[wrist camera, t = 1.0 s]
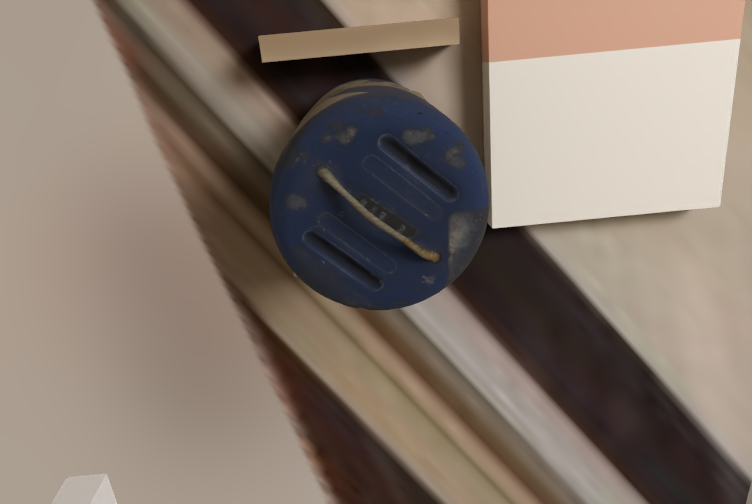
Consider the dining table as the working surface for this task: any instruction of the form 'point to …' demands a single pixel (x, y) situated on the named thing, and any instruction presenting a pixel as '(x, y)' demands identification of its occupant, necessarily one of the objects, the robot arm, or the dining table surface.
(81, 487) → the robot arm
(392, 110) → the canister
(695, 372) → the dining table surface
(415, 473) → the dining table surface
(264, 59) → the rails
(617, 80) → the board
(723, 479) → the dining table surface
